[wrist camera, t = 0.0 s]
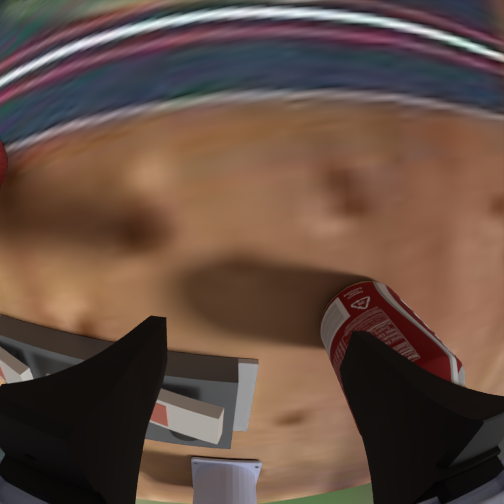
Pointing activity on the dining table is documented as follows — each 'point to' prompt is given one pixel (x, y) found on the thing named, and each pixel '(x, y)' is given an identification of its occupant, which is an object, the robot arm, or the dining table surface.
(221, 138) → the dining table surface
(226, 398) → the power strip
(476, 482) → the robot arm
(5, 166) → the onion
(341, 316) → the soda can
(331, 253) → the dining table surface
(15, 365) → the rocker
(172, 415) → the rocker
